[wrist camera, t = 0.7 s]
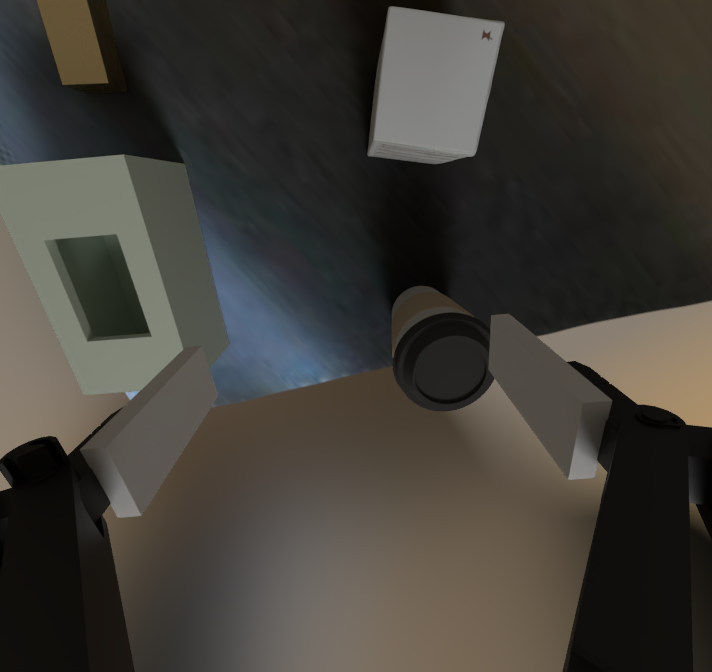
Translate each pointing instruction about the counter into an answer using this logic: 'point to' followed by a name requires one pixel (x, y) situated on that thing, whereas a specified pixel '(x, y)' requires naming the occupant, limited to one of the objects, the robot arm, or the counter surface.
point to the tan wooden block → (83, 45)
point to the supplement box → (432, 85)
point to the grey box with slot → (115, 264)
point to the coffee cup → (439, 350)
